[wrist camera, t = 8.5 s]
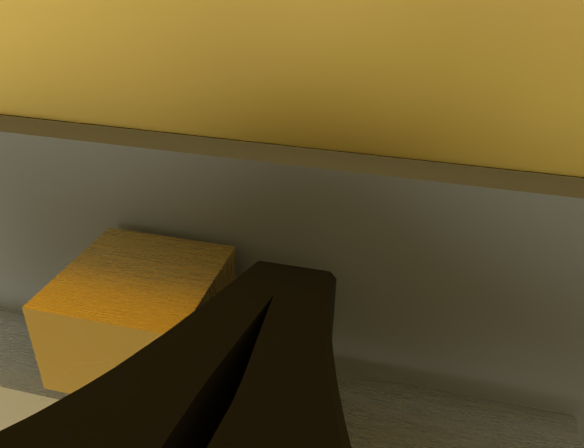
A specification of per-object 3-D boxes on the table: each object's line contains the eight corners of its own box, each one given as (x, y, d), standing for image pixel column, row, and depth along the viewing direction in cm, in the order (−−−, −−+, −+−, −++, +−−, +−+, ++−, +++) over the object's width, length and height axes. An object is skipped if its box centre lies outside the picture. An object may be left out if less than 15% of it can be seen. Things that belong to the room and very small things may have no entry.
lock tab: (235, 246, 9) (177, 336, 7) (237, 319, 10) (186, 419, 8) (108, 227, 10) (22, 307, 8) (120, 299, 11) (44, 388, 9)
